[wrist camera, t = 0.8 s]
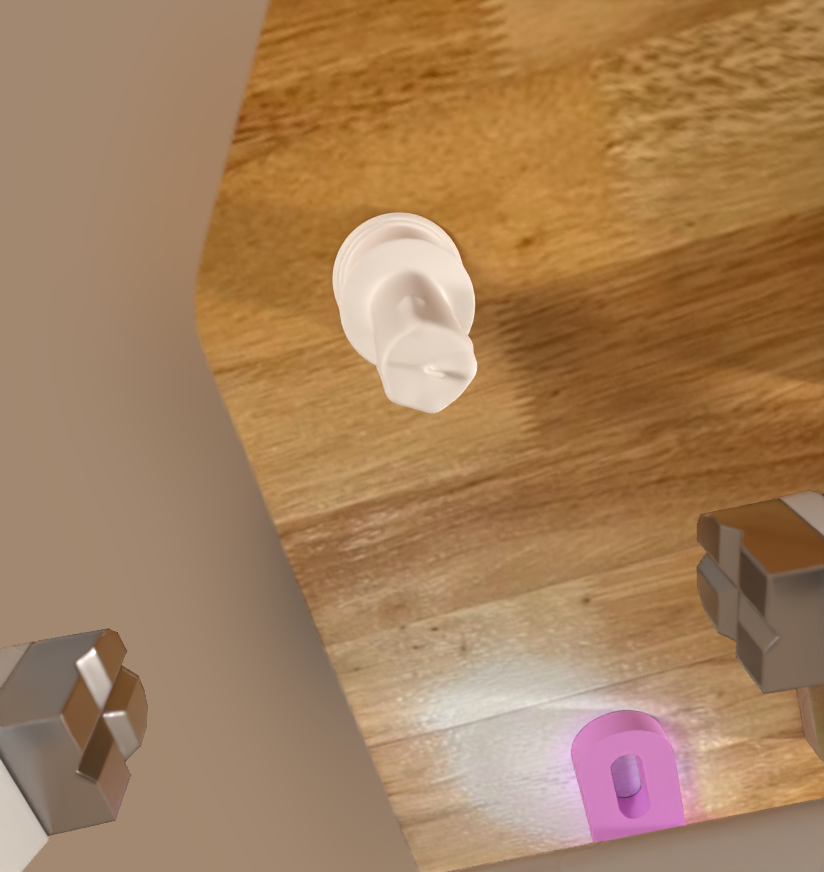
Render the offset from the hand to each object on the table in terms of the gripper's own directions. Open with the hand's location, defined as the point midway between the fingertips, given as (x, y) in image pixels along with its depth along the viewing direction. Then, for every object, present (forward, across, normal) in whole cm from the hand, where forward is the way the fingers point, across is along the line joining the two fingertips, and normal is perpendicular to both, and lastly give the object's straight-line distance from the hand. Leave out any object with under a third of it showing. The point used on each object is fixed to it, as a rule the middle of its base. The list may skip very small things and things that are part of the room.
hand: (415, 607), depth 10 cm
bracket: (+20, -9, +33) cm, 40 cm away
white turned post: (+20, -1, 0) cm, 21 cm away
